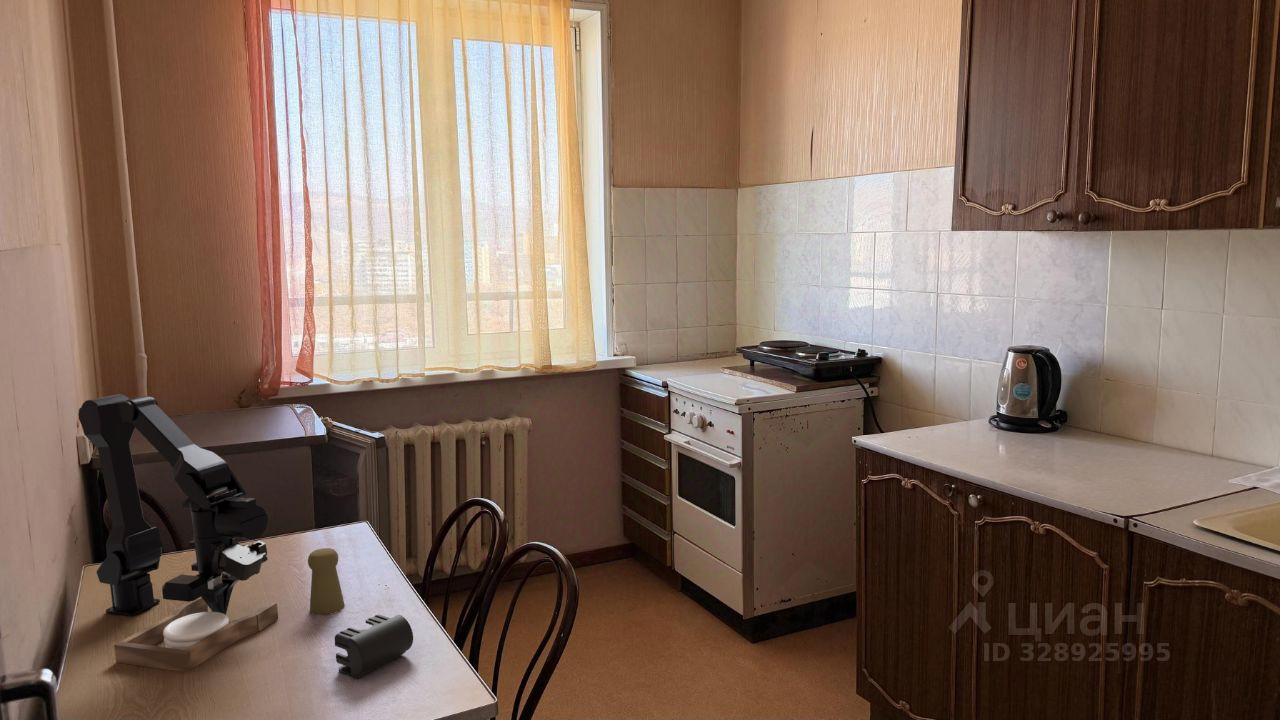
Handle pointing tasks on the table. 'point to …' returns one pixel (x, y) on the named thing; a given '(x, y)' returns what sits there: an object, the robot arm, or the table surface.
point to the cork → (325, 582)
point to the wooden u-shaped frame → (146, 654)
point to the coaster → (193, 629)
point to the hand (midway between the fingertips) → (221, 618)
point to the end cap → (373, 644)
